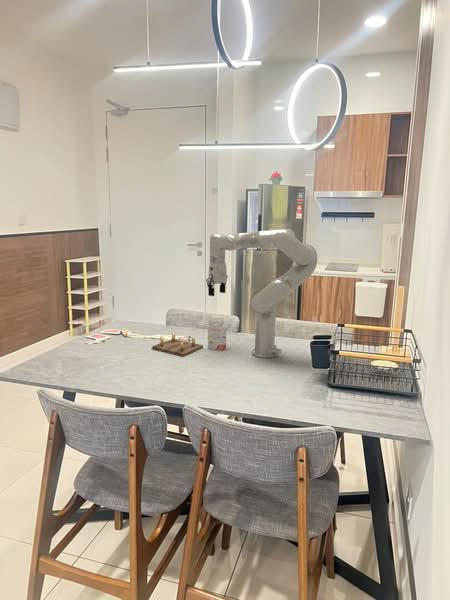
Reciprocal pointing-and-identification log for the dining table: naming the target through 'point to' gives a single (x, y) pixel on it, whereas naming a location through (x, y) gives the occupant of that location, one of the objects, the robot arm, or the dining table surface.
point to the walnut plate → (177, 347)
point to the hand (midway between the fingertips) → (217, 294)
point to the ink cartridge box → (216, 335)
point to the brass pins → (174, 341)
